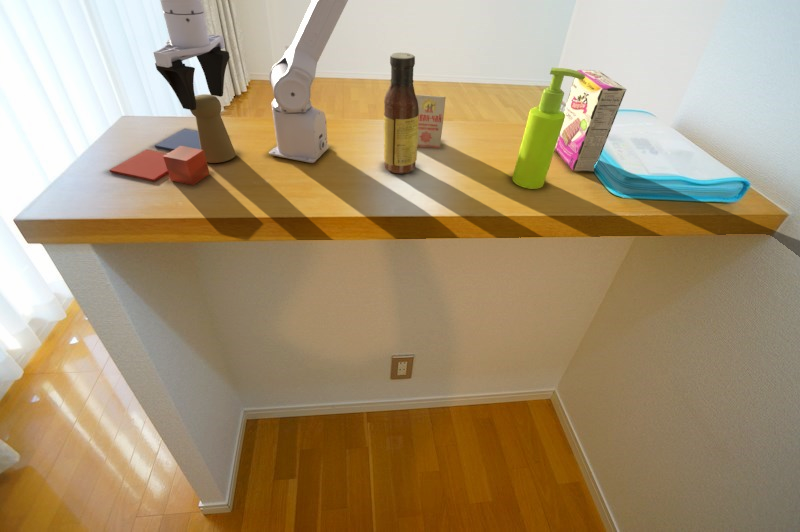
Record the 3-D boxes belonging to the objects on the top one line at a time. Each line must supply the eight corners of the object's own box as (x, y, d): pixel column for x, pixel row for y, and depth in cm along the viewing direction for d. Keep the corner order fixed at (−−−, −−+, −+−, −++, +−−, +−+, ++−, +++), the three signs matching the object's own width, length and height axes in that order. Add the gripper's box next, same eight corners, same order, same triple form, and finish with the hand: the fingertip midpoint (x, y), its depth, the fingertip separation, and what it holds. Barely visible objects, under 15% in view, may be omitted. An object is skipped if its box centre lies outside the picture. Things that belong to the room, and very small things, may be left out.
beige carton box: (408, 138, 91) (412, 91, 84) (439, 141, 91) (445, 94, 84) (408, 145, 88) (411, 97, 81) (439, 148, 88) (445, 100, 81)
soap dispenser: (547, 193, 76) (585, 77, 63) (510, 184, 77) (539, 70, 64) (550, 179, 80) (586, 68, 67) (514, 171, 82) (543, 62, 69)
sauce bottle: (420, 165, 81) (431, 54, 68) (407, 178, 77) (416, 63, 64) (390, 157, 83) (395, 48, 70) (376, 169, 79) (378, 55, 66)
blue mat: (223, 137, 85) (222, 135, 85) (195, 155, 79) (194, 153, 78) (185, 130, 87) (184, 128, 87) (154, 147, 80) (154, 145, 80)
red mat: (188, 159, 77) (188, 157, 77) (154, 181, 70) (153, 179, 70) (147, 151, 79) (146, 149, 78) (109, 172, 72) (109, 169, 72)
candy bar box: (550, 148, 91) (575, 68, 81) (572, 148, 92) (599, 69, 81) (571, 172, 83) (602, 87, 72) (595, 172, 83) (629, 88, 73)
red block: (209, 173, 74) (203, 149, 71) (193, 185, 70) (186, 161, 67) (187, 169, 74) (180, 145, 72) (170, 180, 71) (162, 156, 68)
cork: (225, 164, 76) (208, 102, 69) (195, 161, 77) (176, 100, 70) (241, 151, 80) (227, 92, 74) (213, 148, 81) (196, 90, 75)
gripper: (191, 2, 69) (209, 86, 78) (124, 14, 58) (154, 111, 67) (228, 7, 68) (242, 92, 77) (168, 21, 57) (192, 118, 66)
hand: (203, 101), depth 72 cm, fingers open, 7 cm apart
